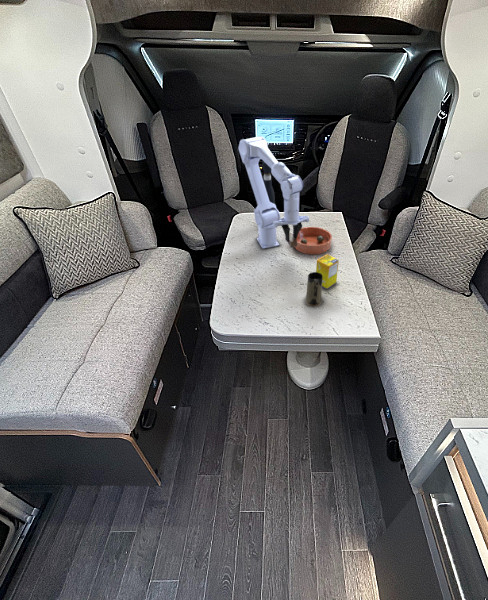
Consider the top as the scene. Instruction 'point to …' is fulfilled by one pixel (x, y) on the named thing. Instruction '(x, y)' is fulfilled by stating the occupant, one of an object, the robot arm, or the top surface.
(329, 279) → the supplement box
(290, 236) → the brown wooden block
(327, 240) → the bowl
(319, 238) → the bead
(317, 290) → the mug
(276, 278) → the top surface
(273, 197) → the wine bottle
